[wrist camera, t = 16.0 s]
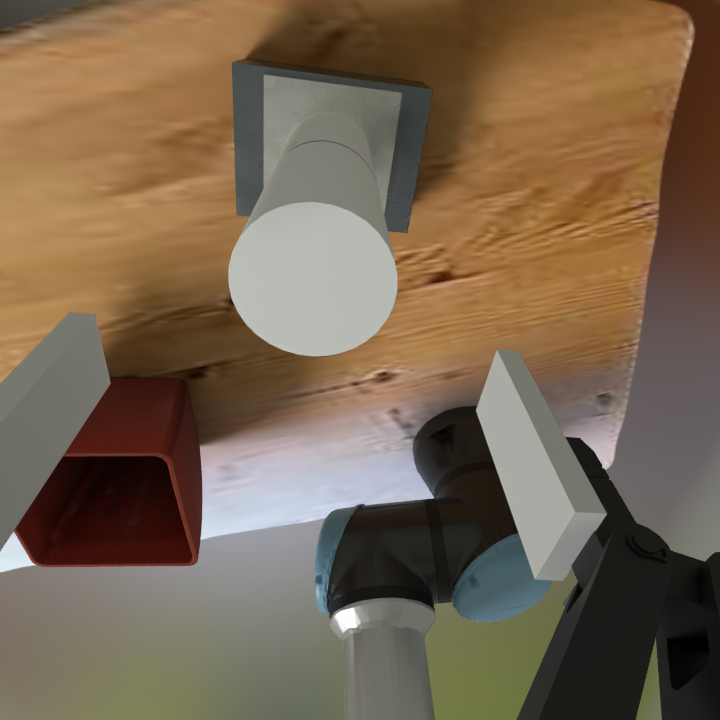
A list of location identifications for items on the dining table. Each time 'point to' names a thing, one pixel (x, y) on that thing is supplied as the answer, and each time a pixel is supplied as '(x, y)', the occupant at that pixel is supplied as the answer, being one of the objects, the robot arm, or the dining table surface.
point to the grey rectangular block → (335, 94)
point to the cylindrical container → (316, 245)
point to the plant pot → (123, 484)
